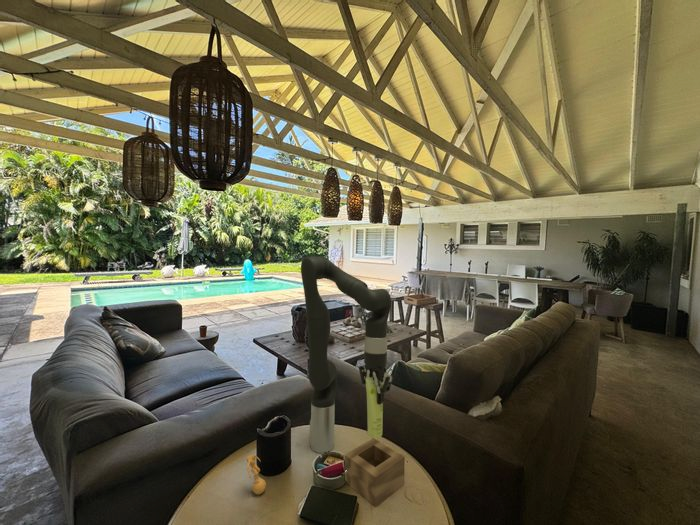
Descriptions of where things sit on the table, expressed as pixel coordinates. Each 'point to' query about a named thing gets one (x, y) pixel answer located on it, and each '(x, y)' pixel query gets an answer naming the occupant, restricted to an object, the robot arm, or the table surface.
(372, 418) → the tube
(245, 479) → the table surface
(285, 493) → the table surface
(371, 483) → the box
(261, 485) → the figurine
